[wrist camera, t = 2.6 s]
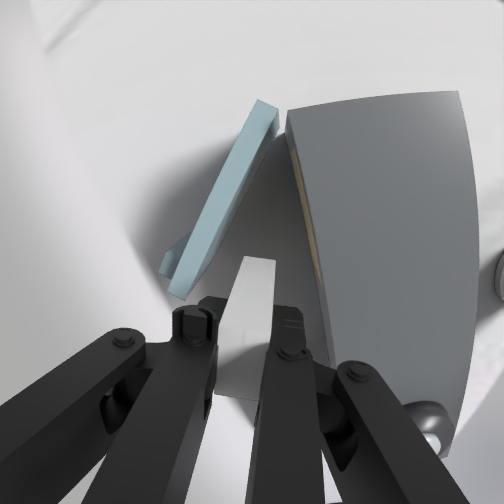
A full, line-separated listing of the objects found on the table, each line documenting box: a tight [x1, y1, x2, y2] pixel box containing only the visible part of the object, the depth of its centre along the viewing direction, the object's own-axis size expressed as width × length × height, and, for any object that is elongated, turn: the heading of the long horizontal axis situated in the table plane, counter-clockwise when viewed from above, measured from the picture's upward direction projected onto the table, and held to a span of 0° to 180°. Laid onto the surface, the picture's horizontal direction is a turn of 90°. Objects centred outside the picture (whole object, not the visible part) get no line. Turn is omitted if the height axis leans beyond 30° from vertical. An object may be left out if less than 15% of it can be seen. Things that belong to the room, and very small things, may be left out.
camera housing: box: [285, 91, 479, 459], centre depth 18 cm, size 24×8×12 cm, turn 13°
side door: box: [158, 99, 279, 301], centre depth 18 cm, size 10×2×8 cm, turn 153°
